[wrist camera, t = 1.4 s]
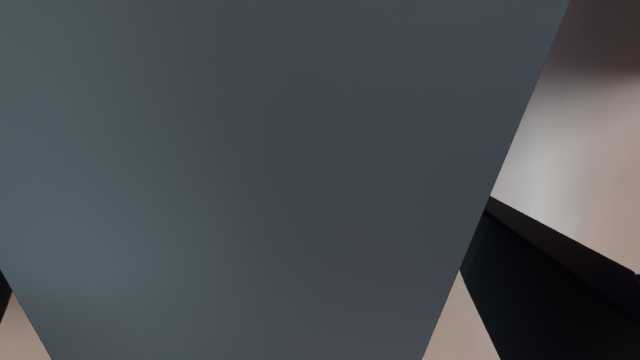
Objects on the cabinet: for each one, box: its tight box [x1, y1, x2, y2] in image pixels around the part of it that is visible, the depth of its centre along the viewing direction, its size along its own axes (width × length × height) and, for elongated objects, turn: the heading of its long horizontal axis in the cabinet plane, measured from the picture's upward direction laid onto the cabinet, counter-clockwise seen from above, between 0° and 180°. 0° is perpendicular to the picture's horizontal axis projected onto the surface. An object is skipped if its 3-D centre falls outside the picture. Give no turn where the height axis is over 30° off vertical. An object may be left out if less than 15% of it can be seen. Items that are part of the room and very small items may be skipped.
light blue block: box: [0, 0, 570, 360], centre depth 8 cm, size 10×5×7 cm, turn 176°
